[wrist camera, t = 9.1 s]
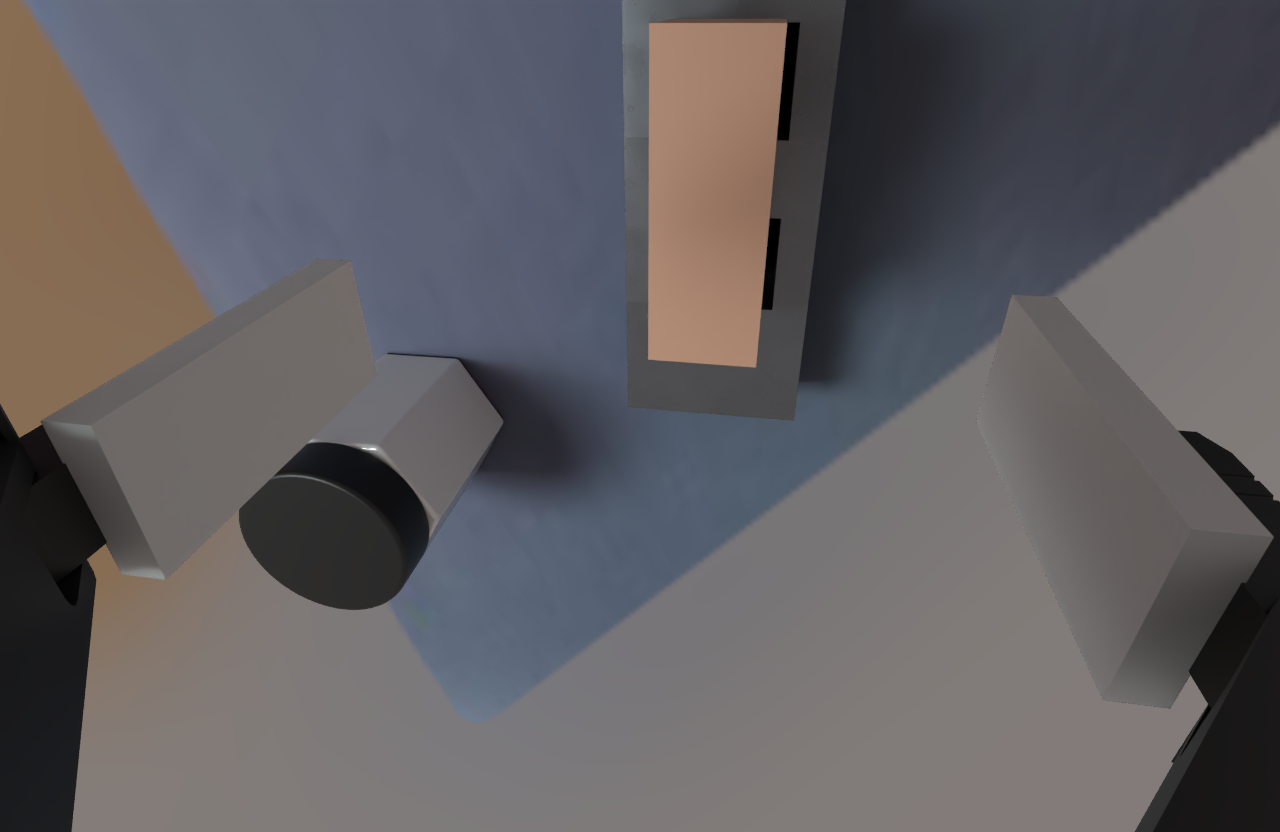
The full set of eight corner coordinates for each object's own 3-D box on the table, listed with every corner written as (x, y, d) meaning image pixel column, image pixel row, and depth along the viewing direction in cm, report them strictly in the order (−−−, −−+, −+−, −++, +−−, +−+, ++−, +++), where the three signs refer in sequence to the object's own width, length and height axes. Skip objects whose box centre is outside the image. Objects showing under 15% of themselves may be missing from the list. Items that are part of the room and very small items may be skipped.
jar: (336, 380, 42) (193, 502, 32) (437, 323, 39) (313, 438, 28) (428, 492, 45) (326, 635, 35) (528, 448, 42) (446, 591, 32)
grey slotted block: (640, -146, 27) (619, -168, 23) (857, -154, 25) (868, -178, 22) (642, 370, 38) (628, 406, 34) (792, 381, 37) (793, 420, 33)
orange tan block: (687, 16, 29) (649, 22, 21) (785, 16, 29) (787, 23, 20) (680, 272, 35) (648, 359, 26) (762, 276, 34) (755, 367, 26)
